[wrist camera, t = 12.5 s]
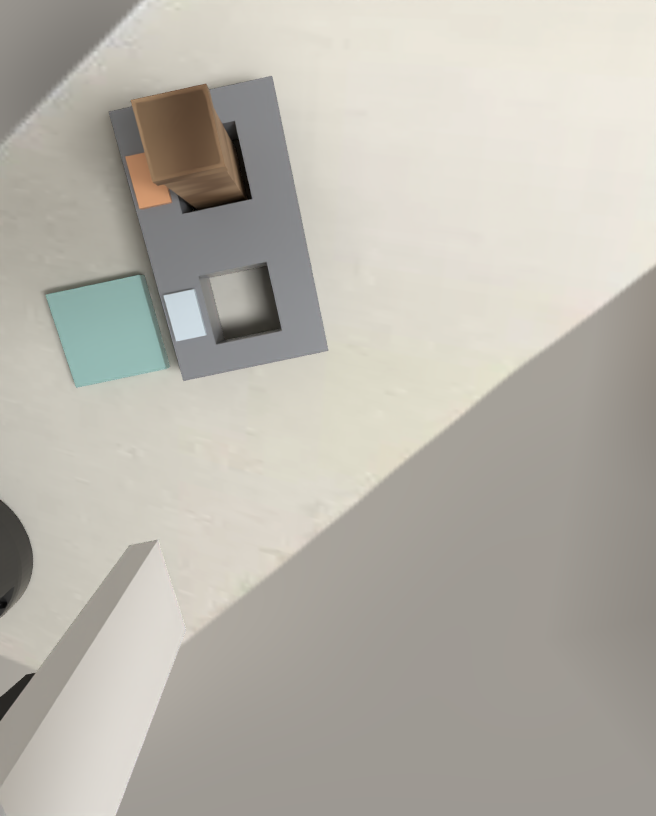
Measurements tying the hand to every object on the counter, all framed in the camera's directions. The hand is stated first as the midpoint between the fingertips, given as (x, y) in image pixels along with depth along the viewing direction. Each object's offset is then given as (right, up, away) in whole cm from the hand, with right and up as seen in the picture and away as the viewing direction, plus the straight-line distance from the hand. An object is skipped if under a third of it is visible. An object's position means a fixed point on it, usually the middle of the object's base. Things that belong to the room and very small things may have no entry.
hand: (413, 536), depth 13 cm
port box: (-10, +17, +28) cm, 35 cm away
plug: (-11, +22, +27) cm, 37 cm away
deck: (-21, +10, +30) cm, 38 cm away
